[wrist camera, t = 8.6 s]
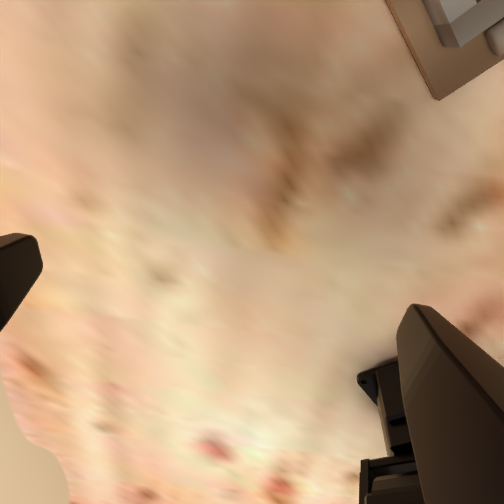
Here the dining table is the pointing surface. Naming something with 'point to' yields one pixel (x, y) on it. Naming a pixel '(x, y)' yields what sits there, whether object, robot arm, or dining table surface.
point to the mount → (451, 39)
